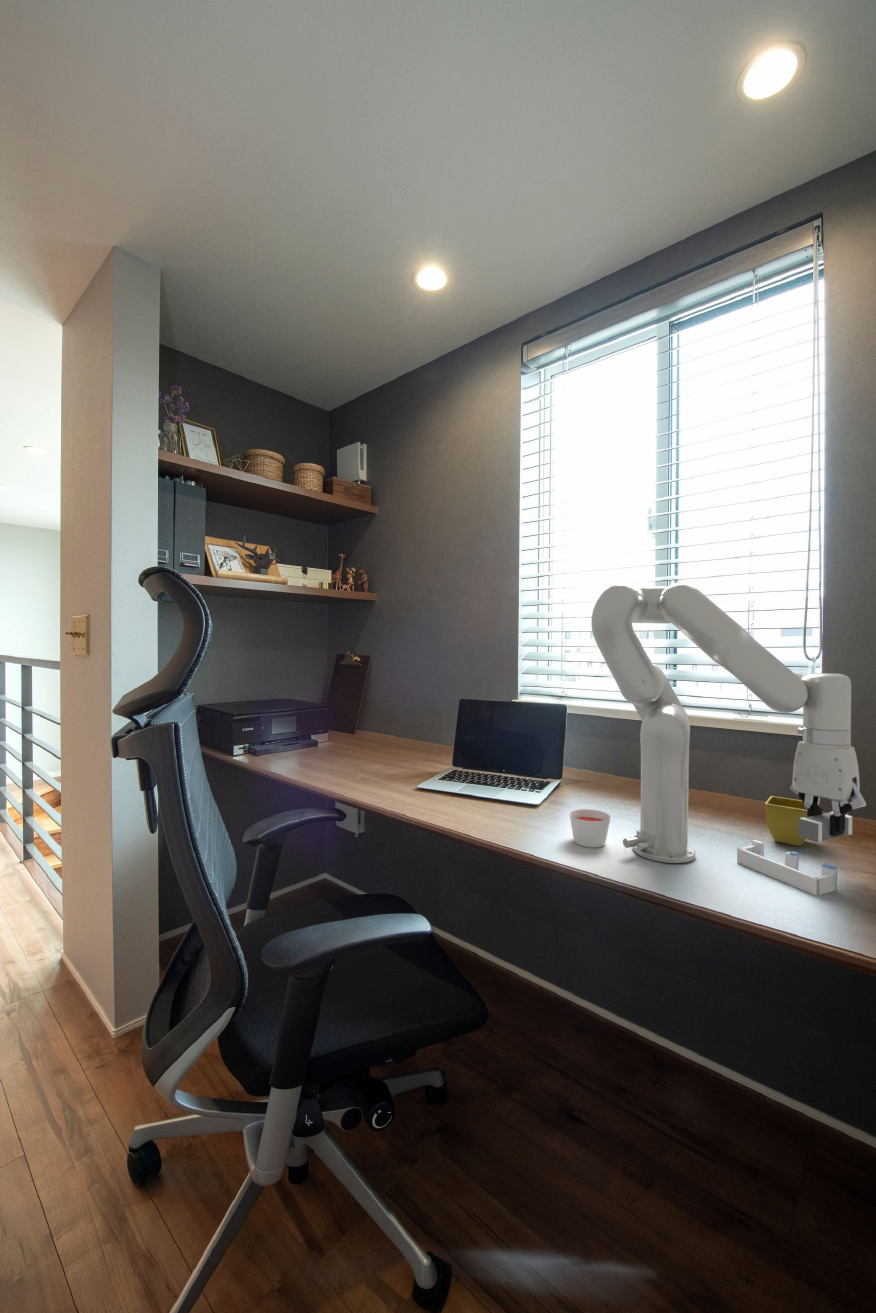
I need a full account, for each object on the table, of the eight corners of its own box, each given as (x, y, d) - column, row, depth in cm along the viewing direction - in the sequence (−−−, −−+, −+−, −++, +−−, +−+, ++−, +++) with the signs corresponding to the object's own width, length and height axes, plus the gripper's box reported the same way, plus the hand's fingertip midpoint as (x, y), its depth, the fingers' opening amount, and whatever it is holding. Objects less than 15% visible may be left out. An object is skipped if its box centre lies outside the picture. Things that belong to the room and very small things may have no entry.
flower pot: (770, 831, 132) (770, 794, 131) (813, 840, 126) (814, 801, 126) (763, 842, 125) (764, 803, 125) (809, 851, 119) (810, 810, 119)
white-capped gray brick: (816, 842, 102) (816, 823, 102) (798, 836, 105) (798, 818, 105) (853, 833, 106) (853, 816, 106) (834, 828, 110) (834, 811, 109)
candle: (615, 840, 125) (615, 813, 125) (603, 853, 118) (603, 824, 118) (577, 832, 131) (577, 806, 130) (563, 844, 123) (563, 816, 123)
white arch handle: (816, 895, 98) (816, 871, 98) (736, 862, 113) (737, 841, 113) (836, 890, 101) (837, 866, 101) (756, 858, 115) (756, 837, 115)
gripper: (772, 732, 111) (771, 821, 112) (861, 746, 96) (860, 849, 97) (796, 730, 114) (796, 816, 115) (887, 742, 99) (886, 842, 100)
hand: (825, 830), depth 106 cm, fingers closed on white-capped gray brick, 3 cm apart
